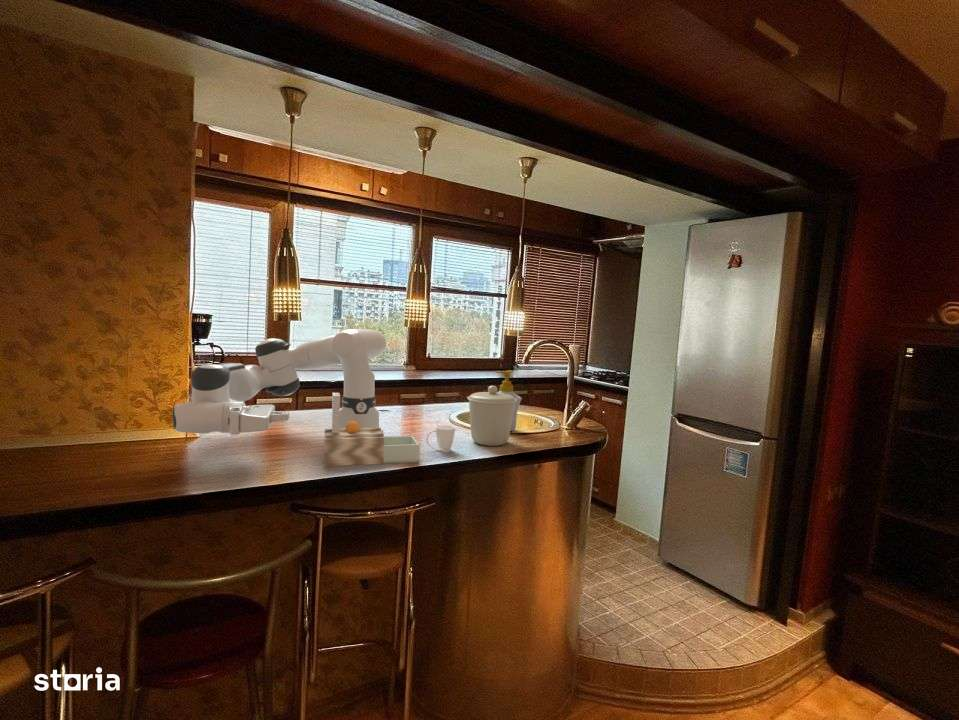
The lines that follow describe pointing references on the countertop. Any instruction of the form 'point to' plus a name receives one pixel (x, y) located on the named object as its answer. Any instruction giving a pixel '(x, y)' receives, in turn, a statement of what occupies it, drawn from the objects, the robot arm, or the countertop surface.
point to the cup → (443, 437)
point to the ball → (352, 427)
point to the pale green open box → (400, 449)
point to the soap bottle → (508, 389)
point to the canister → (491, 416)
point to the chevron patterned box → (354, 447)
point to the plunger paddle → (335, 413)
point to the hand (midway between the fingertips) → (289, 416)
